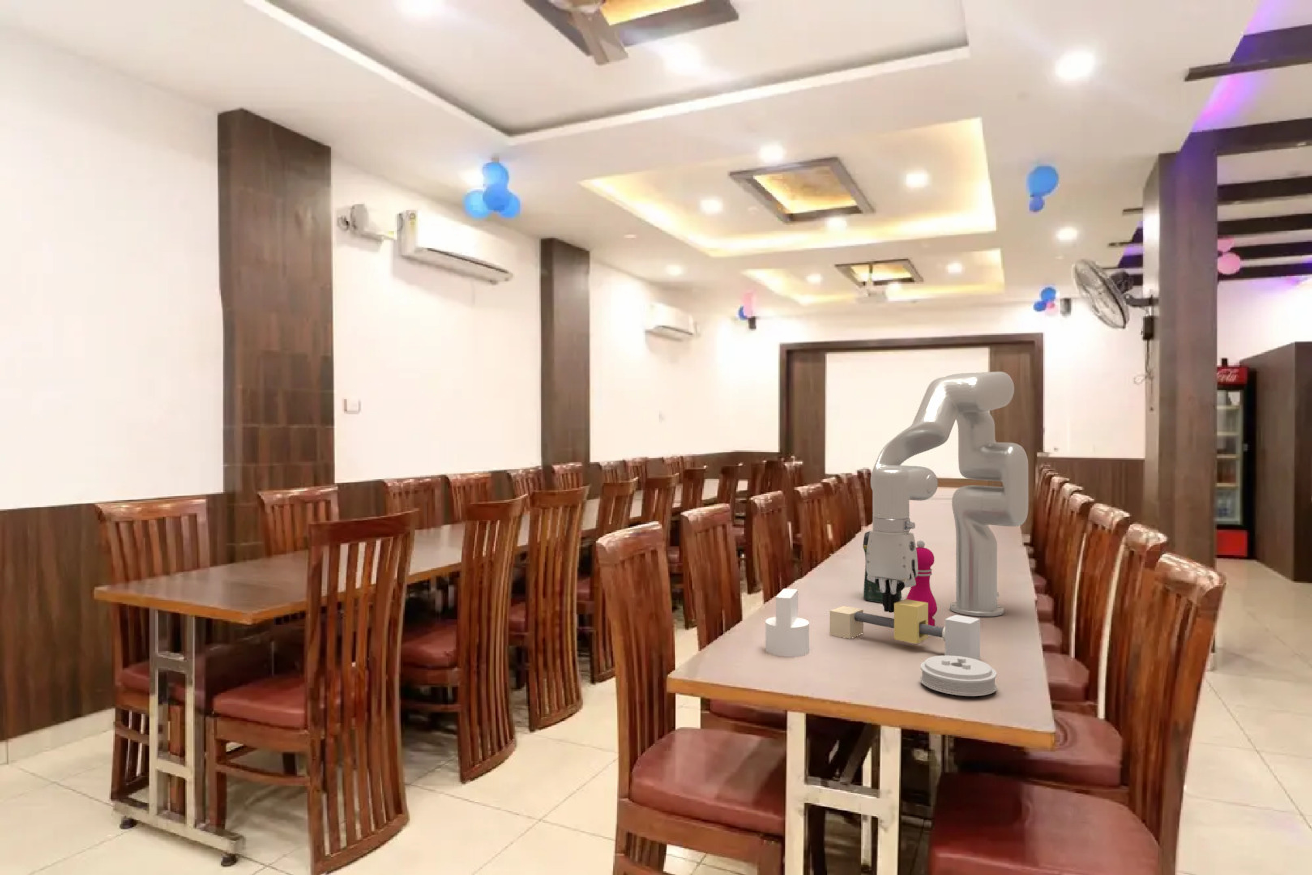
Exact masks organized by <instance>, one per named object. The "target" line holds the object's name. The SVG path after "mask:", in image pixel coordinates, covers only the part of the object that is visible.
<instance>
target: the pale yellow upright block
mask: <svg viewBox="0 0 1312 875" xmlns="http://www.w3.org/2000/svg"><path fill="white" fill-rule="evenodd" d="M893 613H894V614H893V619H894V628H893V639H894V640H896V641H901V642H906V643H910V644H917V645H918V644H920V643H922V642H924V641H927V640H928V639H929V635H926V634H921V633H919V623H920V624H926V625H928V603H926V602H920V601H914V600H908V599H906V598H905V599H901V600H900V601H899V602H896V603H894V612H893Z"/></svg>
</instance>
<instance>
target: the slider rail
mask: <svg viewBox="0 0 1312 875" xmlns="http://www.w3.org/2000/svg"><path fill="white" fill-rule="evenodd" d="M864 623H865V624H871V625H875V626H881V627H885V628H889V629H890V628H891V629H894V617H887V616H882V615H876V614H870V613H865V612H864V609H862V608H859V607H858V608H857V607H852V606H845V605H842V606H839V607H837V608H833V609H830V610H829V635H830V634H831V635H830V636H832V635H835V636H834V637H837V636H839V637H838V638H841V637H845V638H844V639H846V638H849V639H848V640H851V639H850V638H852V637H854V638H857V637H858V636H857V635H859V634H861V633H863V634H864ZM919 633H921V634H926V635H928V636H931V637H937V638H942V640H943V641H944V656H961V657H968V658H972V659H976V660H980V659H981V619H980V618H979V617H978V618H977V617H971V616H967V615H965V616H964V615H959V614H954V615H952V616H949V617H947V618H945V619H944V627H942V626H936V625H935V626H931V625H926V624H920V623H919ZM856 636H857V637H856ZM859 636H860V635H859ZM852 639H853V638H852Z"/></svg>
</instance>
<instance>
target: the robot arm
mask: <svg viewBox="0 0 1312 875" xmlns="http://www.w3.org/2000/svg"><path fill="white" fill-rule="evenodd" d="M1014 393H1015V383H1014V381H1013V379H1012V377H1011V376H1010V375H1009V374H1008V373H1006V372H1004V371H987V372H985V371H984V372H982V371H981V372H964V373H963V372H962V373H954V374H950V375H946V376H943V377H937V378H936V379H933V380H932V381H931V382H930V383H929V385H928V386H927V389H926V391H925V393H924V395H923V398H922V400H921V403H920V405H919V406H918V409H917V412H916V415H915V416H914V419H913V421H912V424H911V425H909V427H907V428H906V429H904V430H903V431H901V432H899V433H898V434H897V435H896V436H894V437H893V438H892V439H891V440H890V441H889V442H887V443H886V444H885V445H884V446H883V447H882V449H881V451H880V452H879V455H878V457H877V459H876V461H875V463H874V466H873V468H872V471H871V475H870V488H871V490H872V530H869V531H870V534H869V539H868V545H867V554H866V560H865V565H866V571H867V574H868V575H867V579H868V580H869V581H871V582H874V583H876V584H877V585H878V587H879V588H880V591H881V592H882V593H883V603H882V606H883V612H886V613H887V612H888V613H894V603H896V602H899V593H900V592H901V593H902V591H903V590H904V589H905V588H911V587H913V586H915V585H916V582H915V578H916V577H917V576H918V561H917V550H916V547H917V543H916V538H915V536H914V532H910V531H911V530H914V529H915V528H916V523H915V522H912V521H911V518H910V501H918V502H919V501H920V502H921V501H926V500H929V499H930V498H932V497H933V496H934V495H935V494H936V492H937V490H938V487H939V481H938V477H937V475H936V473H935V472H934V471H933V470H932V469H930V468H928V467H925V466H917V465H902V464H903V463H904V462H906V461H907V460H909V459H910V458H912V457H914V456H916V455H919V454H921V453H925V452H928V451H930V450H933V449H935V448H938V447H940V446H942V445H944V444H945V443H946V442H948V440H949V438H950V435H951V432H952V430H953V427H954V425H955V422H956V425H957V435H958V436H957V438H958V440H957V441H958V443H957V444H958V447H957V448H958V449H957V450H958V451H957V452H958V453H957V454H958V455H957V456H958V470H959V473H960V475H961V476H962V477H963V478H964V479H967V480H975V481H991V482H1002V486H993V485H992V486H991V485H977V484H974V485H973V484H972V485H971V484H970V485H963V486H960V487H958V488H957V489H956V490H955V491H954V492H953V494H952V498H951V509H952V513H953V519H954V525H955V561H956V562H955V571H956V572H955V576H956V577H955V588H956V589H955V601H952V602H951V603H949V609H950V611H952V612H953V613H956V614H961V615H965V616H970V617H971V616H973V617H982V618H983V617H998V616H1001V615H1003V614H1004V613H1005V608H1004V607H1003V606H1001V605H999V604H998V598H999V596H1000V593H999V592H998V542H997V538H996V536H995V534H994V533H993V531H992V529H991V527H990V526H999V527H1000V526H1001V527H1019V526H1022V525H1023V524H1024V523H1025V522H1026V520H1027V517H1028V513H1029V460H1028V455H1027V453H1026V450H1025V449H1024V447H1023V446H1022V445H1020V444H1018V443H1015V442H998V441H997V440H996V424H995V421H994V418H993V416H992V414H990V411H991V412H992V411H995V410H998V409H1000V408H1004V407H1006V406H1007V405H1009V404H1010V403H1011V401H1012V399H1013V396H1014V395H1015V394H1014ZM890 580H892V584H891V582H890Z"/></svg>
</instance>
